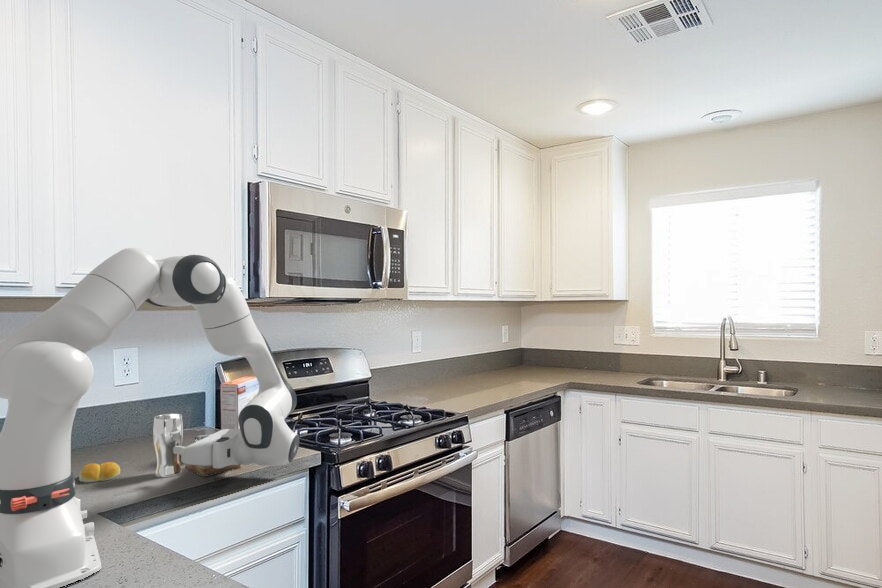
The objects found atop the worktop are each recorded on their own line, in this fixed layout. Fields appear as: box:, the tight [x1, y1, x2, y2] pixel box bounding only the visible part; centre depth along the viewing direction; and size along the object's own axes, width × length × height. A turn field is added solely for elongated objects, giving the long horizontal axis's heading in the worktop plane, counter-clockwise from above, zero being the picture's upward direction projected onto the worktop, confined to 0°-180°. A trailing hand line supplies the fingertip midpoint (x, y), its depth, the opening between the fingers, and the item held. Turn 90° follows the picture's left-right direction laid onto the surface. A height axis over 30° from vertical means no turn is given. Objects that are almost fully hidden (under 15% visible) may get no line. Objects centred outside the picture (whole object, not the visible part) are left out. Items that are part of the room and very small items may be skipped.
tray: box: [184, 464, 242, 477], centre depth 151 cm, size 11×10×2 cm
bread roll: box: [78, 461, 121, 484], centre depth 144 cm, size 8×9×4 cm
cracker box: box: [219, 376, 259, 430], centre depth 168 cm, size 14×6×21 cm, turn 171°
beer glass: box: [152, 413, 184, 478], centre depth 146 cm, size 7×7×15 cm
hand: (185, 444), depth 145 cm, fingers open, 8 cm apart
